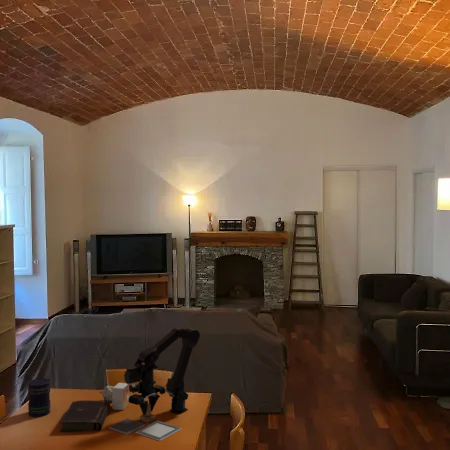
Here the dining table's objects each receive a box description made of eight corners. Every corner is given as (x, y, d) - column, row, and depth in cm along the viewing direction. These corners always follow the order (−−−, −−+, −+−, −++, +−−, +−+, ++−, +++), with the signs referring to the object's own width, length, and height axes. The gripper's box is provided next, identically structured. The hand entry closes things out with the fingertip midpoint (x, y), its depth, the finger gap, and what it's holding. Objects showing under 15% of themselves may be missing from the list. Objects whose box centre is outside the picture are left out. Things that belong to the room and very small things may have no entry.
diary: (110, 410, 252) (110, 400, 252) (101, 433, 227) (101, 421, 227) (70, 410, 251) (70, 400, 251) (57, 433, 226) (57, 421, 226)
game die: (113, 407, 263) (125, 391, 264) (104, 407, 255) (117, 390, 256) (101, 396, 267) (114, 379, 268) (93, 395, 259) (105, 378, 260)
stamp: (147, 416, 243) (147, 401, 242) (155, 419, 240) (155, 404, 240) (139, 420, 239) (139, 405, 238) (147, 423, 236) (147, 407, 236)
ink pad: (126, 419, 239) (126, 417, 239) (144, 425, 233) (144, 423, 233) (108, 428, 230) (108, 426, 230) (126, 434, 224) (126, 432, 224)
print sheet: (157, 421, 237) (157, 420, 237) (181, 429, 229) (181, 427, 229) (135, 432, 226) (135, 431, 226) (160, 441, 218) (160, 439, 218)
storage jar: (28, 418, 240) (28, 386, 240) (27, 411, 249) (27, 379, 249) (51, 415, 244) (51, 383, 244) (49, 407, 253) (49, 377, 253)
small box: (123, 410, 250) (123, 388, 250) (112, 409, 251) (111, 387, 251) (129, 404, 258) (129, 383, 257) (118, 403, 259) (118, 382, 258)
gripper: (148, 370, 251) (148, 402, 251) (119, 381, 235) (119, 416, 236) (166, 375, 244) (166, 408, 245) (137, 386, 229) (138, 421, 230)
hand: (147, 413), depth 239 cm, fingers open, 4 cm apart
